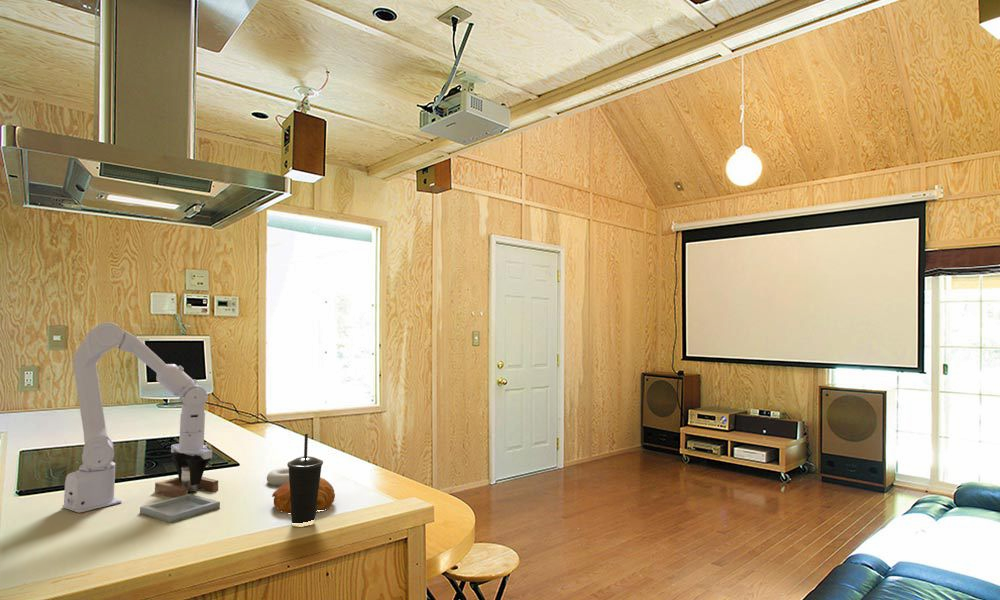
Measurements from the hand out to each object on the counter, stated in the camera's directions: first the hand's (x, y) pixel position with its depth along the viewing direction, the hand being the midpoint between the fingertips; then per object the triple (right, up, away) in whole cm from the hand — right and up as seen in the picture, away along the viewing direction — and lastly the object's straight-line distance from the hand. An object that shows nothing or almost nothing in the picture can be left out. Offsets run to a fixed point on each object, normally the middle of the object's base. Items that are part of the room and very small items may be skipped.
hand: (189, 483), depth 150 cm
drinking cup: (+37, -2, -22) cm, 43 cm away
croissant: (+33, -3, -9) cm, 34 cm away
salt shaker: (0, -2, 0) cm, 2 cm away
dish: (+6, -2, -15) cm, 16 cm away
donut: (+21, -4, +11) cm, 24 cm away
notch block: (-1, -2, +1) cm, 3 cm away
